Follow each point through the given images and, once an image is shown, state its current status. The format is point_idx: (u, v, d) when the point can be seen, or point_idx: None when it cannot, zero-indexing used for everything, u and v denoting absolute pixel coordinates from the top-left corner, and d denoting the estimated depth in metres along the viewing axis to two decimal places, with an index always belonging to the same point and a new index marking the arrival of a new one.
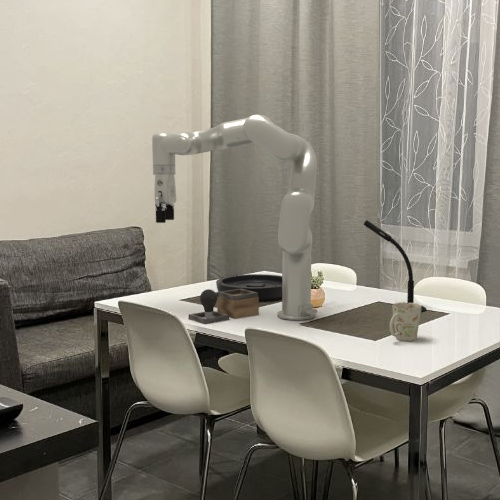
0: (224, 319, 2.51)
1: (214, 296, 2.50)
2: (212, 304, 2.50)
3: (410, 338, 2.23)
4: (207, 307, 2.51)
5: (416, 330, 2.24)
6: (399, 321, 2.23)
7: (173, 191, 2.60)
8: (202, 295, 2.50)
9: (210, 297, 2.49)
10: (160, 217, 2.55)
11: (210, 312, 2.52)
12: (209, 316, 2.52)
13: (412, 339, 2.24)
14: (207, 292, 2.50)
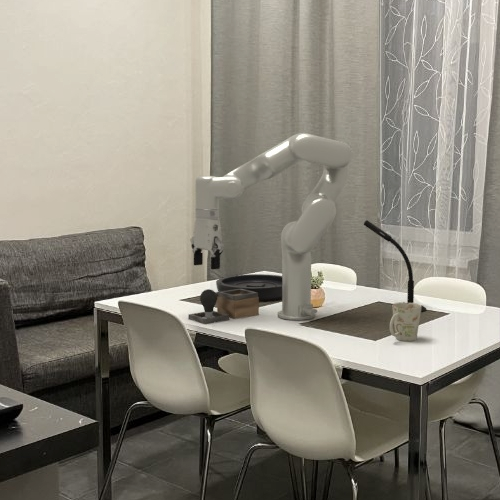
0: (224, 319, 2.51)
1: (214, 296, 2.50)
2: (212, 304, 2.50)
3: (410, 338, 2.23)
4: (207, 307, 2.51)
5: (416, 330, 2.24)
6: (399, 321, 2.23)
7: None
8: (202, 295, 2.50)
9: (210, 297, 2.49)
10: (217, 263, 2.46)
11: (210, 312, 2.52)
12: (209, 316, 2.52)
13: (412, 339, 2.24)
14: (207, 292, 2.50)
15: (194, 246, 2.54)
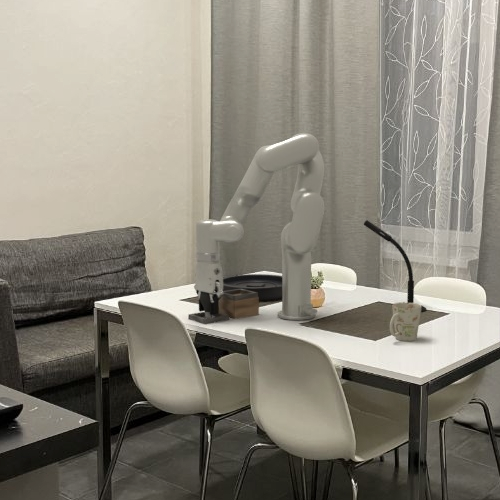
0: (224, 319, 2.51)
1: None
2: None
3: (410, 338, 2.23)
4: (207, 307, 2.51)
5: (416, 330, 2.24)
6: (399, 321, 2.23)
7: None
8: (202, 295, 2.50)
9: (209, 297, 2.49)
10: (216, 308, 2.50)
11: None
12: (209, 316, 2.52)
13: (412, 339, 2.24)
14: None
15: None
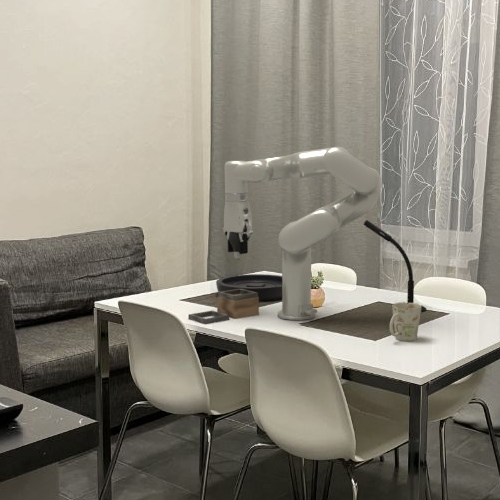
0: (224, 319, 2.51)
1: None
2: None
3: (410, 338, 2.23)
4: (236, 247, 2.55)
5: (416, 330, 2.24)
6: (399, 321, 2.23)
7: None
8: (231, 235, 2.55)
9: None
10: (245, 248, 2.54)
11: None
12: (238, 256, 2.56)
13: (412, 339, 2.24)
14: None
15: None
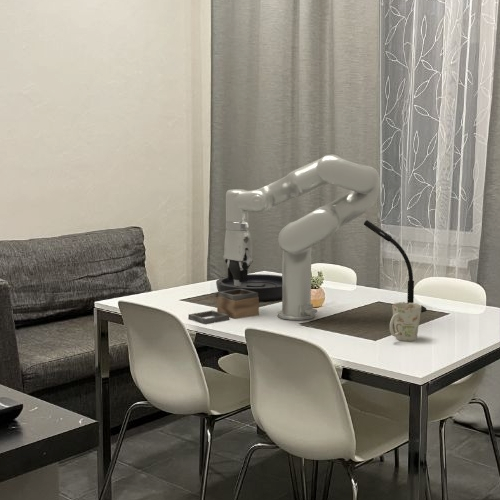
0: (224, 319, 2.51)
1: (243, 264, 2.56)
2: None
3: (410, 338, 2.23)
4: (236, 275, 2.57)
5: (416, 330, 2.24)
6: (399, 321, 2.23)
7: None
8: (231, 263, 2.56)
9: None
10: (245, 276, 2.56)
11: None
12: (238, 284, 2.58)
13: (412, 339, 2.24)
14: None
15: (228, 260, 2.61)
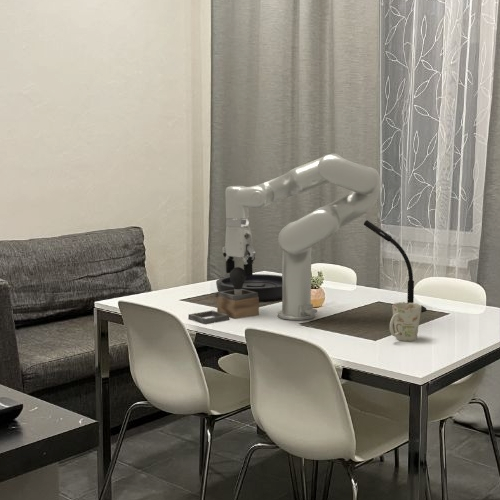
0: (224, 319, 2.51)
1: (243, 273, 2.57)
2: (242, 281, 2.57)
3: (410, 338, 2.23)
4: (237, 284, 2.57)
5: (416, 330, 2.24)
6: (399, 321, 2.23)
7: None
8: (232, 273, 2.57)
9: (239, 275, 2.56)
10: (250, 270, 2.54)
11: (239, 289, 2.58)
12: (238, 293, 2.58)
13: (412, 339, 2.24)
14: (237, 269, 2.57)
15: (226, 254, 2.62)
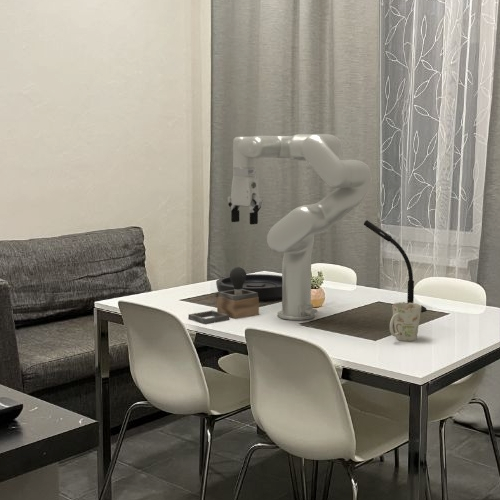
0: (224, 319, 2.51)
1: (244, 274, 2.57)
2: (242, 281, 2.57)
3: (410, 338, 2.23)
4: (237, 284, 2.57)
5: (416, 330, 2.24)
6: (399, 321, 2.23)
7: None
8: (232, 273, 2.57)
9: (240, 275, 2.56)
10: (256, 218, 2.61)
11: (240, 289, 2.58)
12: (239, 293, 2.58)
13: (412, 339, 2.24)
14: (237, 269, 2.57)
15: (231, 204, 2.69)
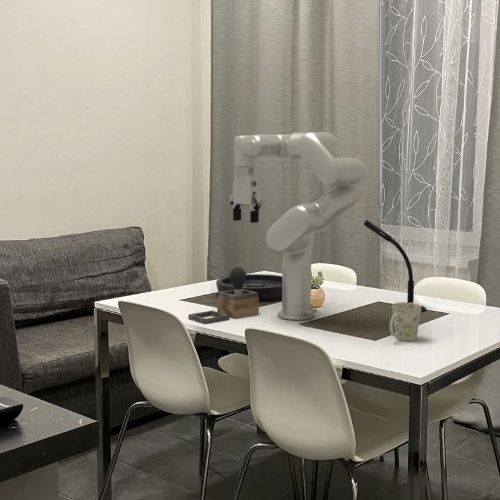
0: (224, 319, 2.51)
1: (244, 274, 2.57)
2: (242, 281, 2.57)
3: (410, 338, 2.23)
4: (237, 284, 2.57)
5: (416, 330, 2.24)
6: (399, 321, 2.23)
7: None
8: (232, 273, 2.57)
9: (239, 275, 2.56)
10: (256, 217, 2.63)
11: (239, 289, 2.58)
12: (238, 293, 2.58)
13: (412, 339, 2.24)
14: (237, 269, 2.57)
15: (233, 203, 2.71)
